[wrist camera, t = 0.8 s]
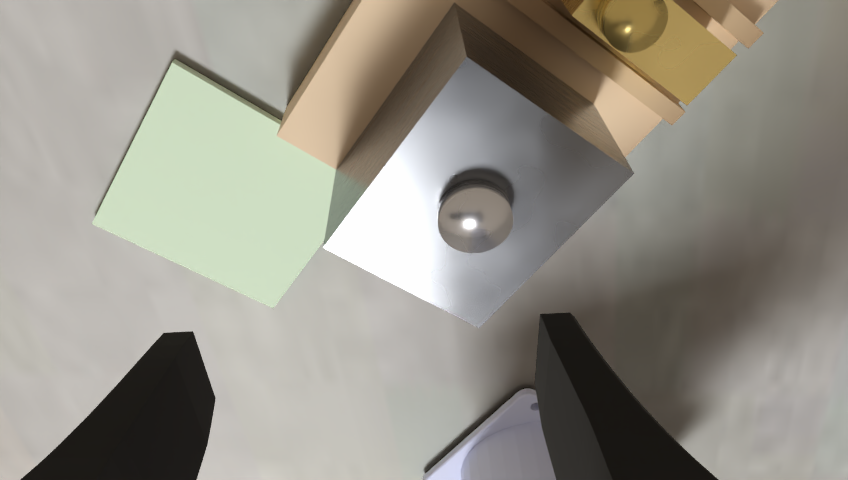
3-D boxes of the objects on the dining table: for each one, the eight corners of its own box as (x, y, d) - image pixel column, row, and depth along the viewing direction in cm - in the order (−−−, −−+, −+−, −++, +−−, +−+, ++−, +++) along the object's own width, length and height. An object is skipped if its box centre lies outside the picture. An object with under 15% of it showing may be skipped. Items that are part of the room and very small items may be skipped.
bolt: (705, 29, 18) (751, 67, 15) (661, 76, 18) (698, 119, 16) (598, -63, 16) (630, -36, 14) (555, -8, 17) (579, 26, 15)
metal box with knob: (593, 103, 19) (640, 184, 15) (467, 244, 22) (481, 340, 18) (454, 2, 17) (469, 65, 13) (336, 169, 20) (320, 259, 16)
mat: (371, 172, 22) (371, 177, 22) (274, 303, 25) (273, 308, 25) (174, 59, 20) (171, 62, 20) (95, 219, 23) (91, 224, 23)
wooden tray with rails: (777, -53, 18) (825, -30, 16) (506, 236, 24) (516, 282, 22) (533, -290, 15) (555, -301, 13) (286, 107, 21) (273, 145, 19)
